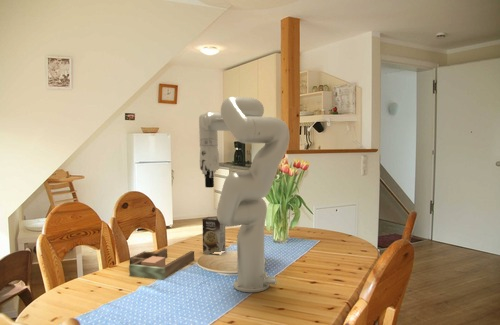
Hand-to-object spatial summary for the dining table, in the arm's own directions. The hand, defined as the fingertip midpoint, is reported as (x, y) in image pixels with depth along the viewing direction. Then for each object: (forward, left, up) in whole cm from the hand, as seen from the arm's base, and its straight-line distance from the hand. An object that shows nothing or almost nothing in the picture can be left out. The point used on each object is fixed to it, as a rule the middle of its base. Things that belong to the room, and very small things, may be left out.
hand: (209, 187), depth 155 cm
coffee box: (+5, -14, -32) cm, 36 cm away
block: (+17, +17, -32) cm, 40 cm away
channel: (+19, +11, -32) cm, 39 cm away
